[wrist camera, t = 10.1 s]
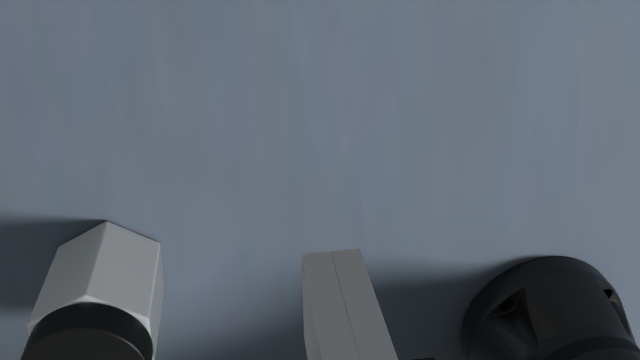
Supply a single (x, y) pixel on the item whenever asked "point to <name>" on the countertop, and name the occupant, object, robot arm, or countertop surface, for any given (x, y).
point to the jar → (99, 299)
